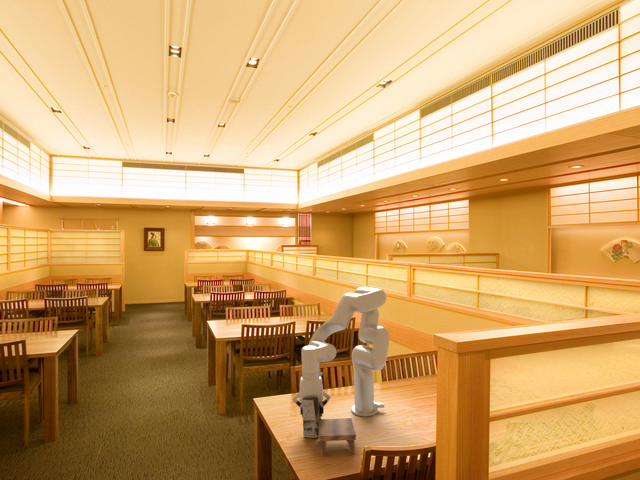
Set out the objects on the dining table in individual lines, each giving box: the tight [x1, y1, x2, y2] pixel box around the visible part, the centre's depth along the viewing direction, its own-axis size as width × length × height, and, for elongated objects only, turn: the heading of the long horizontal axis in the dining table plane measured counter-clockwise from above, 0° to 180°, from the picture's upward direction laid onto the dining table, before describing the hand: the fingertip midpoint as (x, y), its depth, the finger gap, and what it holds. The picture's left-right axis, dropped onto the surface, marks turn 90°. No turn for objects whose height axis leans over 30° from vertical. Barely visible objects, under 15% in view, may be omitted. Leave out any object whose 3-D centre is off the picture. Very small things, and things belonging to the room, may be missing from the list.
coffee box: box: [302, 398, 322, 439], centre depth 170 cm, size 9×6×16 cm
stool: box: [318, 417, 357, 457], centre depth 159 cm, size 14×14×8 cm
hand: (312, 415), depth 170 cm, fingers closed on coffee box, 7 cm apart
